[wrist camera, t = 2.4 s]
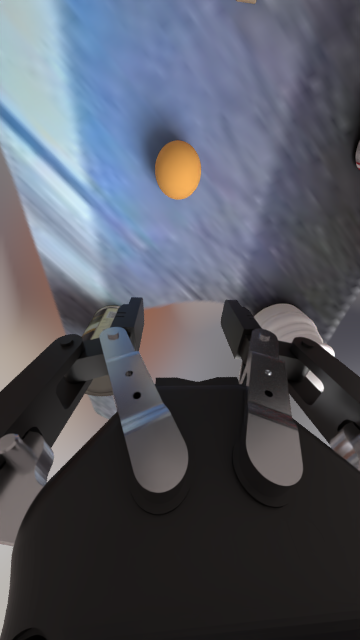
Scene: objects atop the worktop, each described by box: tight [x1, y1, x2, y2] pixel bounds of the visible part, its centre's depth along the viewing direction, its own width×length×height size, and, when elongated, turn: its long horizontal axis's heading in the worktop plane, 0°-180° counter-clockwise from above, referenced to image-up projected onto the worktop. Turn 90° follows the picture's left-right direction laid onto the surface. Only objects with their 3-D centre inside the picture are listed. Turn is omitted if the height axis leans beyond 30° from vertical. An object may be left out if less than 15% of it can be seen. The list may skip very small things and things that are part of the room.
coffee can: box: [82, 306, 121, 396], centre depth 35 cm, size 10×10×14 cm
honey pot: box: [254, 304, 335, 392], centre depth 36 cm, size 13×13×18 cm
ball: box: [155, 140, 201, 199], centre depth 24 cm, size 6×6×6 cm
